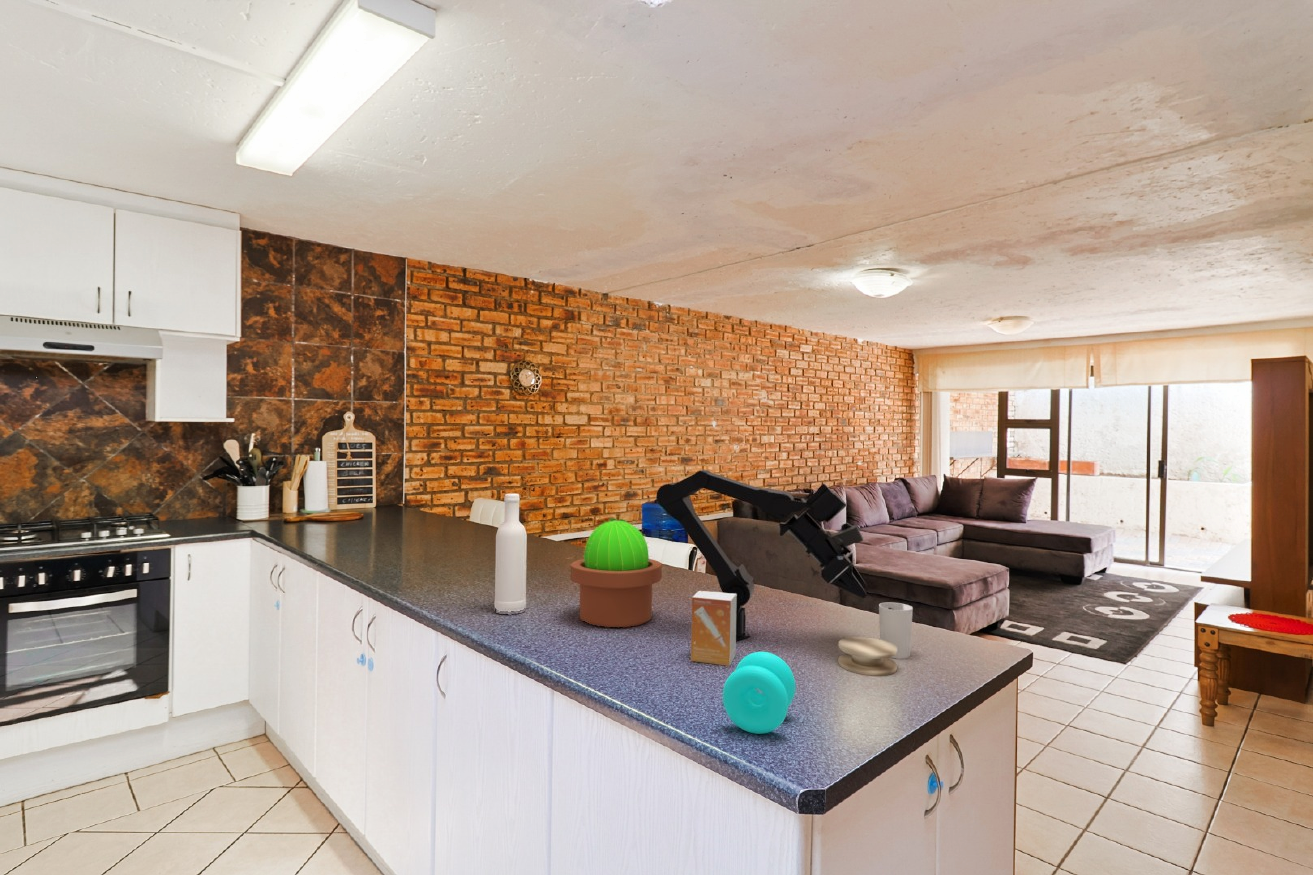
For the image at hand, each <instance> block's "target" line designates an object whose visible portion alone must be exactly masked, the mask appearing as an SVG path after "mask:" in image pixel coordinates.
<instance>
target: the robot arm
mask: <svg viewBox="0 0 1313 875" xmlns="http://www.w3.org/2000/svg"><path fill="white" fill-rule="evenodd" d="M703 489H704V490H709V491H710V492H711V491H712V492H715V493H717V494H720V495H723V496H726V497H729V498H733V499H736V500H739V501H741V502H745V503H748V504H750V505H752V506H753V507H755V508H757V509H759V510H760V511H761V512H763V513H765V514H767V515H768V516H771V517H772V518H774V519H778V520H782V519H785V518H788V517H789V516H790V515H791V514H792V513H797V512H801V511H802V510H804V509H805V507H807V508H806V510H804V512H802V513H801V515H799V516H798V515H797V514H793V515H792V516H791V517H790V518H789V519H787V521H785V522H780V523H779V525H778V526H779V536H780V537H783V536H784V535H785V534H787V532H789V533H790V534H791V535H792V537H794V538H795V540H796V541H797V542H798V543H800V545H801V546H803V548H805V552H806V553H807V554H808V555H811V556H812V557H813V558H814V559H815V561H816V562H818V563H819V567H820V568H821V572H820V573H821V576H820V577H821V578H822V579H823V580H824V581H825V582H826V583H827V584H830V585H831V586H832V585H833V586H835V587H838V588H840V589H842V590H844V591H847V592H848V593H851V594H853V595H855V596H857V597H859V598H862V599H865V598H867V596H868V594H867V592H866V591H865V588H866V587H868V584H867V583H866V582H865V580H864V579H863V577H862V576H861V573H859V570H857V568H856V566H855V564H854V558H853V556H854V554H853V553H854V552H852V549H851V548H850V547H849V546H851V545H853V544H859V543H861V542H862V541H864V537H863V536H862V533H861V531H860V529H859V527H858V525H857V524H854V525H851V523H849V522H845V523H843V524H841V525H840V526H841V529H840V530H839V531H837V532H835V533H833V534H832V533H831V532H830V531H829V530H825V529H824V528H823V527H822V526H821V525H819V523H823V522H825V523H827V524H828V523H830V521H832V520H833V519H834V518H835V517H836V516H838V515H839V513H841V512H842V511H843V510H844V509H845V508H846V507H847V506H848V505H847V503H846V502H845V501H844V500H843V498H841V496H840V494H839V495H838V493H837V492H834V491H833V490H832V489H831V488H830V487H829V486H828V485H827V484H825V483H822V484H821V485H820V486H819V487H818V488H817V490H816V491H815V492H814V493H813V494H811V495H810V496H809V497H808V498H804V497H803V498H800V497H794V496H793V495H792V494H791V492H788V491H787V490H786V491H785V490H779V489H772V488H762V487H757V486H754V485H750V484H747V483H744V482H741V481H738V480H735V479H732V478H729V477H726V476H723V475H720V474H717V473H713V472H711V471H710V470H707V469H702V470H698V471H696V472H695V473H693V474H692V475H690V476H687V477H686V478H684V479H681V480H679V481H677V482H670V483H665V484H662V485H661V486H660V487H659V488H658V490H657V492H656V498H655V499H656V502H657V503H658V505H659V506H660V507H661V508H662V509H663V510H664V512H666V513H667V515H669V516H670V517H672V518H673V519H674V520H676V521H677V522H678V523H679V524H680V525H681V527H682V528H683V529H684V531H685V532H686V534H687V535H688V536H689V538H690V539H691V540H692V542H693V543H694V545H695V546H696V547H697V549H698V551H699V552H700V553H701V555H702V556H703V558H704V559H705V560H706V562H707V563H708V565H709V566H710V568H711V569H712V570H713V572H714V573H715V575H716V579H717V582H718V585H719V589H721V592H722V593H733V594H737V601H736V642H737V641H740V640H743V639H747V638H750V637H751V633H746V620H747V618H746V608H745V607H744V606H745V605H746V604H747V603H748V602H749V601H750V600H751V598H752V597H753V595H754V593H755V584H754V581H753V580H754V577H753V576H752V575H751V574H750V573H749V572H748V570H747V569H746V566H745V565H744V564H742V563H741V565H740V566H739V567H738V566H737V565H736V564H734V563H733V562H732V561H731V560H730V559H729V557H728V556H727V555H726V553H725V552H724V550H723V548H721V546H720V545H719V543H718V542H717V541H716V539H715V538H714V536H713V535H712V534H711V532H710V530H709V529H708V528H707V526H706V525H705V524H704V523H703V521H702V519H701V518H700V516H698V514H697V513H696V511H695V508H694V504H693V500H692V499H691V496H692V495H694V494H695V493H697V492H699V491H701V490H703ZM809 513H810V514H811V515H812V516H813V517H814V518H813V517H812V516H811V515H810V514H809ZM815 519H816V520H817V521H816V520H815ZM817 522H819V523H817ZM847 554H848V555H847Z"/></svg>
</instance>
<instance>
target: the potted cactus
mask: <svg viewBox="0 0 1313 875" xmlns="http://www.w3.org/2000/svg"><path fill="white" fill-rule="evenodd" d="M627 520H628V519H626V520H625V519H623V518H619V520H618V519H617V518H608V521H605V522H603V523H599V525H598V526H595V527H594V530H593V531H591V532H592V533H591V534H590V535H589V536H588V539H587V538H586V540H587V542H586V545H585V547H584V551H583V550H582V553H584V555H582V558H581V559H578V560H575V561H573V562H572V563H570V580H571V582H574V583H575V584H577V585H578V584H579V618H580V620H581V621H582V622H583V621H585V622H587V623H586V624H588V623H589V624H588V625H591V624H593V626H595V625H599V626H598V627H600V626H606V627H605V628H610V627H618V628H617V629H619V627H623V628H630V627H631V626H632V627H636V626H641V625H643V624H646V623H647V622H649V621H650V620H651V618H652V611H653V605H652V604H653V599H652V598H653V585H655V584H657V583H659V582H660V581H662V578H663V573H662V571H663V570H662V568H663V565H662V562H661V561H658V560H656V559H651V558H650V557H652V555H651V556H650V555H649V547H648V544H649V542H647V540H646V537H645V536H644V534H643V533H642V532H641V531H640V530H639V527H637V526H635V525H634V524H631V523H629V522H628V521H627ZM585 622H584V623H585Z"/></svg>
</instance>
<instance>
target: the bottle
mask: <svg viewBox="0 0 1313 875" xmlns="http://www.w3.org/2000/svg"><path fill="white" fill-rule="evenodd" d="M503 500H504V521H503V522H502V523H501V524H500V525H499V526H498V528H497V532H496V534H495V565H494V566H495V568H494V569H495V570H494V571H495V572H494V574H495V577H494V578H495V579H494V584H495V585H494V609H495V608H496V609H497V610H499V611H508V612H511V611H520V610H523V609H524V608H527V596H526V595H527V546H528V544H527V540H528V539H527V538H528V536H527V534H528V533H527V531H526V527H525V525H523V524H522V523H521V522H520V501H521V499H520V494H519V493H505V494H504V498H503Z"/></svg>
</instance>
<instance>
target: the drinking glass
mask: <svg viewBox="0 0 1313 875" xmlns="http://www.w3.org/2000/svg"><path fill="white" fill-rule="evenodd" d="M913 610H914V609H913V606H912V605H909V604H905V603H900V602H891V601H890V602H881V603H879V604H878V615H879V616H878V617H879V620H878V621H879V639H880V640H884V641H887V642H889V643H892V644H893V645H895V646H896V647H897V655H896V656H894V657H891V658H890V659H898V660H902V659H903V660H904V659H908V658H910V657H911V643H912V628H913V627H912V626H913Z"/></svg>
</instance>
